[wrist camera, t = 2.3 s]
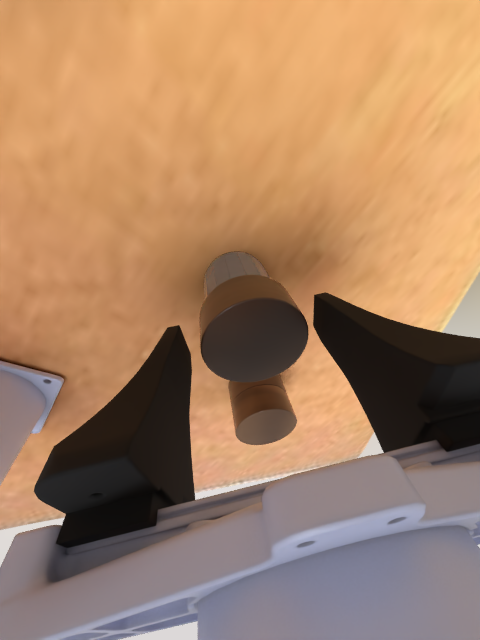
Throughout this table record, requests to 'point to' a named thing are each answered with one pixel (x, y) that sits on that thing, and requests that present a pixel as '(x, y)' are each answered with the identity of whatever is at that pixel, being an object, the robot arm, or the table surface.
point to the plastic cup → (231, 269)
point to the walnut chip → (251, 329)
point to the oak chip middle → (263, 415)
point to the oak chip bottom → (240, 387)
